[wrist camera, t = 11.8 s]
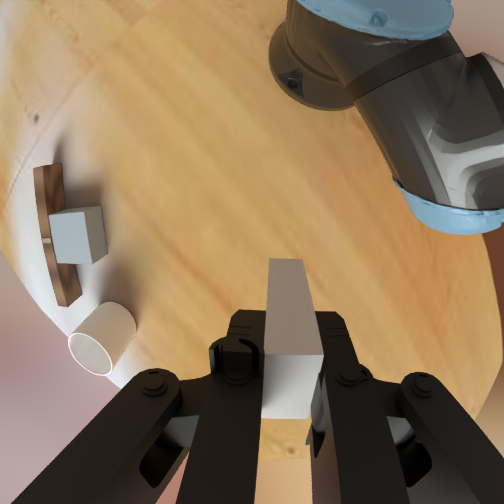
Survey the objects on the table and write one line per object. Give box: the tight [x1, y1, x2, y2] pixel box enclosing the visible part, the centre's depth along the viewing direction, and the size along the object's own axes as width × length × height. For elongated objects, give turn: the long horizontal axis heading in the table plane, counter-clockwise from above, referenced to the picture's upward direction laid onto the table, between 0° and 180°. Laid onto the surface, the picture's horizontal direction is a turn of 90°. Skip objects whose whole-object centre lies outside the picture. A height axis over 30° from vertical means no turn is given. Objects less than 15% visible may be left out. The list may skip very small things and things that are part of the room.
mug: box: [68, 302, 136, 376], centre depth 41 cm, size 9×12×11 cm
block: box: [48, 206, 108, 264], centre depth 38 cm, size 8×8×5 cm
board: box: [33, 163, 82, 307], centre depth 38 cm, size 24×2×5 cm, turn 1°
